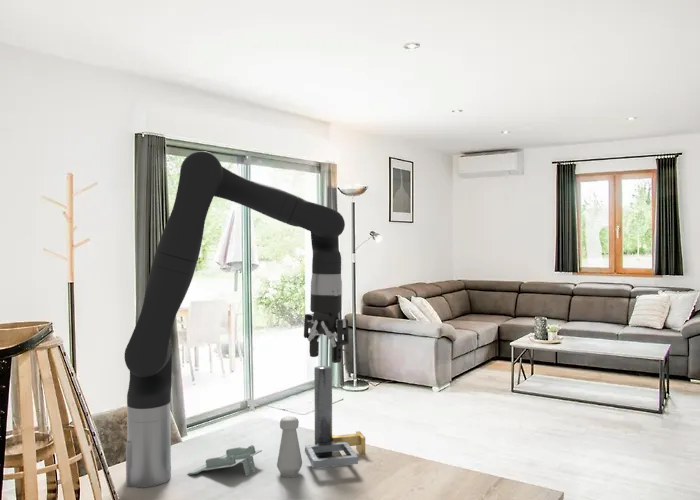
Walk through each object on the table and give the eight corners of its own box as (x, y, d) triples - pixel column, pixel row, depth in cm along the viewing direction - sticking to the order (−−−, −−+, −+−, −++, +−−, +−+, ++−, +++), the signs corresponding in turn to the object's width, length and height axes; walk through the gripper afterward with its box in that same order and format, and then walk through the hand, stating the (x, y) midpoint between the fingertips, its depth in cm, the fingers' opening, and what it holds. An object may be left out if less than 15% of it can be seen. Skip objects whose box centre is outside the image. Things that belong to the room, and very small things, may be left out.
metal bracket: (268, 439, 140) (228, 459, 127) (274, 463, 140) (234, 486, 126) (224, 446, 147) (181, 467, 134) (229, 469, 146) (187, 492, 133)
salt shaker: (293, 467, 137) (292, 412, 137) (307, 474, 133) (307, 418, 133) (272, 473, 133) (271, 417, 133) (286, 481, 129) (285, 423, 129)
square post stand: (313, 478, 130) (313, 381, 130) (300, 451, 147) (300, 365, 147) (378, 471, 134) (378, 377, 134) (358, 446, 151) (358, 362, 151)
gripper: (296, 291, 142) (295, 356, 142) (333, 295, 131) (331, 366, 132) (320, 289, 147) (318, 353, 147) (357, 294, 136) (356, 362, 137)
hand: (325, 359), depth 139 cm, fingers open, 8 cm apart
